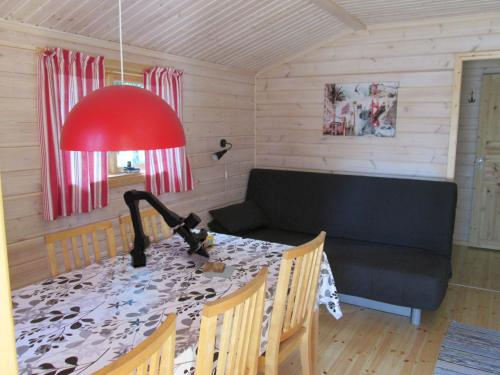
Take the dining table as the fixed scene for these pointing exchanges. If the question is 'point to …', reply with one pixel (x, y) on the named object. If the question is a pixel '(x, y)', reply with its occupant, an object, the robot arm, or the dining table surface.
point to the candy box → (208, 242)
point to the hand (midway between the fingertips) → (208, 257)
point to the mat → (226, 273)
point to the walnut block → (213, 267)
